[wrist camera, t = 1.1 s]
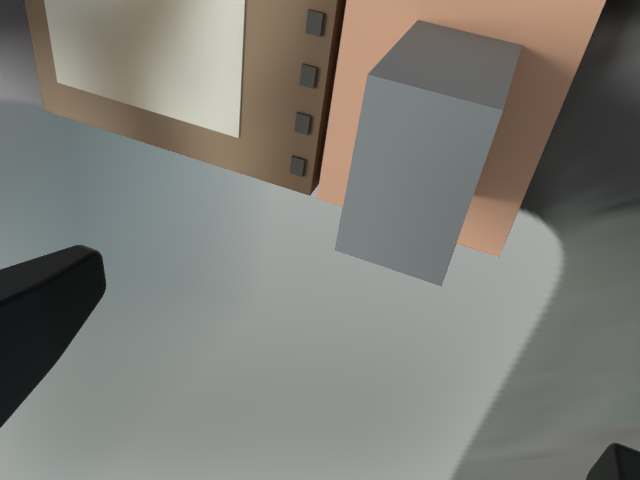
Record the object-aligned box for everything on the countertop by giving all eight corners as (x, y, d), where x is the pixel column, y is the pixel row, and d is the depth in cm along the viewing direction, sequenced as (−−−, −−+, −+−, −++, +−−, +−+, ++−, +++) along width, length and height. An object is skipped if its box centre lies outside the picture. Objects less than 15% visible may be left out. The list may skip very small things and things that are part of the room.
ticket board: (359, -80, 16) (346, -76, 16) (319, 183, 22) (308, 196, 21) (20, -150, 19) (-7, -149, 18) (60, 101, 24) (41, 111, 24)
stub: (612, -27, 15) (626, 32, 10) (502, 241, 20) (478, 357, 16) (367, -78, 16) (284, -46, 12) (325, 186, 22) (257, 278, 17)
